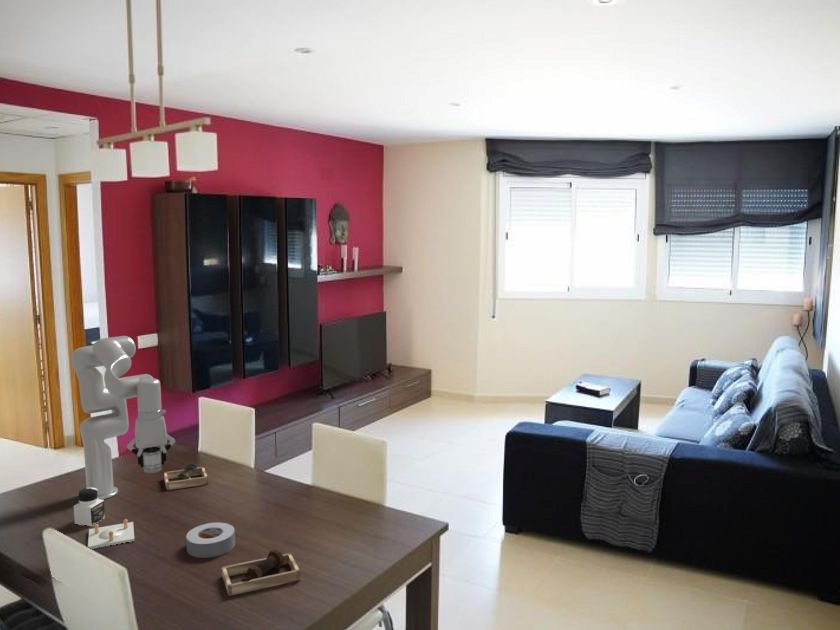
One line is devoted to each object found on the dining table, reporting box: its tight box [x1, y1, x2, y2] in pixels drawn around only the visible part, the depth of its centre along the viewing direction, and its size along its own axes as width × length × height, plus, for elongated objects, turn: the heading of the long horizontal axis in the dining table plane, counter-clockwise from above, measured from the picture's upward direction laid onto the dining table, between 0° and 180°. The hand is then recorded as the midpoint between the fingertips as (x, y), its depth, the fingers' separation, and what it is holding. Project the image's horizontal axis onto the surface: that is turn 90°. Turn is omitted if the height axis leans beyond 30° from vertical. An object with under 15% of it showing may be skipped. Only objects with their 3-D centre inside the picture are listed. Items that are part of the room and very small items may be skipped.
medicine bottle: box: [73, 487, 106, 527], centre depth 235 cm, size 7×7×12 cm
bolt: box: [240, 548, 284, 582], centre depth 198 cm, size 6×5×15 cm
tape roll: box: [185, 522, 236, 559], centre depth 218 cm, size 15×15×5 cm
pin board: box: [87, 518, 135, 550], centre depth 224 cm, size 14×14×4 cm
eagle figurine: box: [175, 463, 197, 480], centre depth 274 cm, size 8×7×9 cm
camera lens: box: [141, 447, 163, 474], centre depth 228 cm, size 6×6×8 cm
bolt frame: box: [221, 552, 301, 597], centre depth 198 cm, size 12×21×3 cm, turn 115°
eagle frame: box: [163, 466, 209, 491], centre depth 273 cm, size 13×16×3 cm
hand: (152, 464), depth 228 cm, fingers closed on camera lens, 6 cm apart
